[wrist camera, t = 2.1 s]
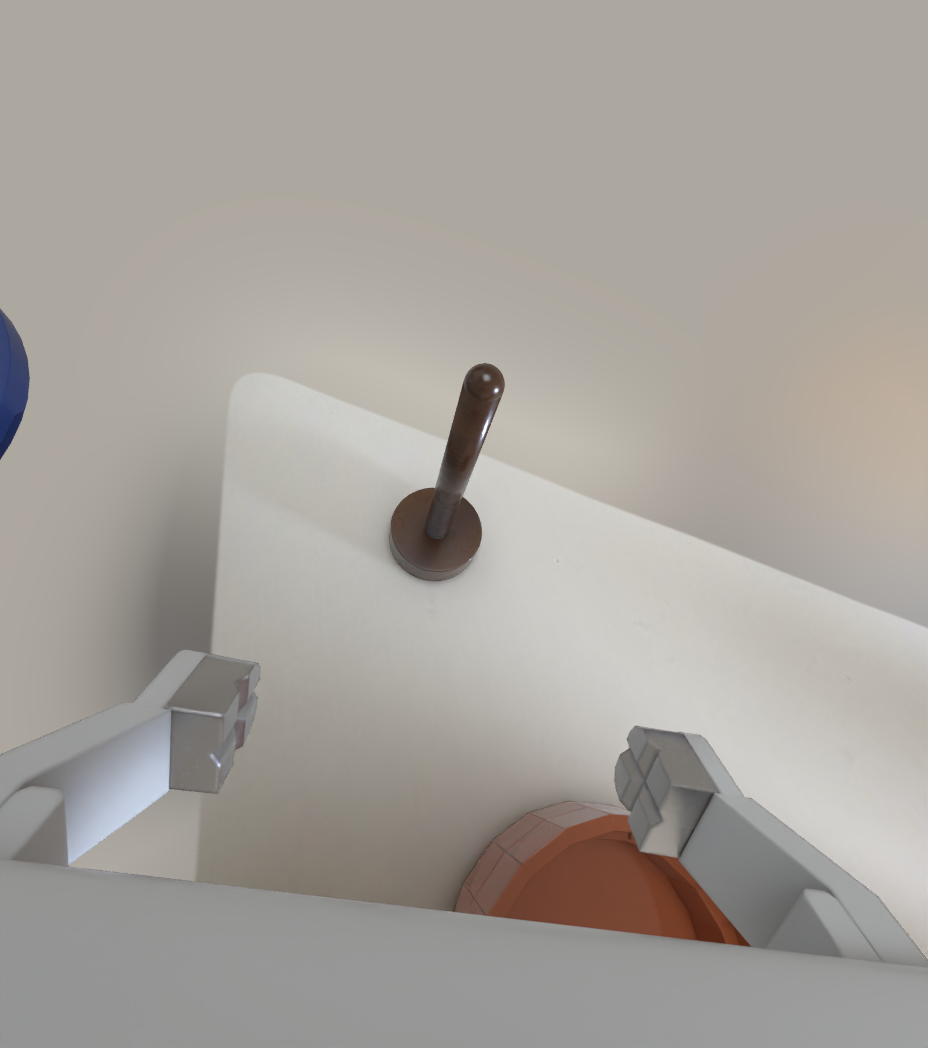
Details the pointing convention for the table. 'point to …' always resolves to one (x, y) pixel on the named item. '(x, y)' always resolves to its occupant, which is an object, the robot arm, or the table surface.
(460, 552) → the masher
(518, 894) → the bowl
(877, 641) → the table surface
